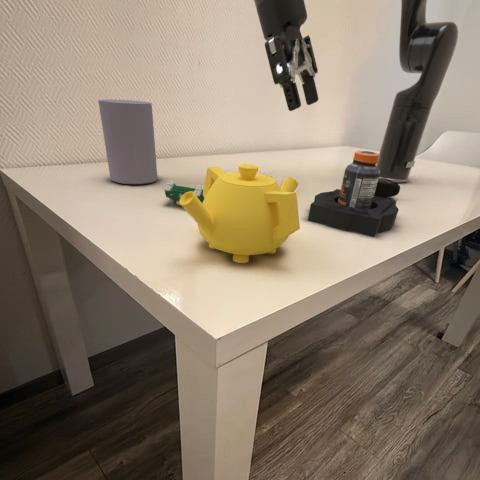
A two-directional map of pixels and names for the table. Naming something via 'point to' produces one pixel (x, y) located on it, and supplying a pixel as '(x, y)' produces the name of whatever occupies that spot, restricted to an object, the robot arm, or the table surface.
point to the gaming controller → (182, 192)
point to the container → (129, 141)
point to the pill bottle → (360, 181)
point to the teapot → (244, 211)
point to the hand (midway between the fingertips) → (304, 106)
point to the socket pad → (353, 214)
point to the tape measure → (386, 188)
